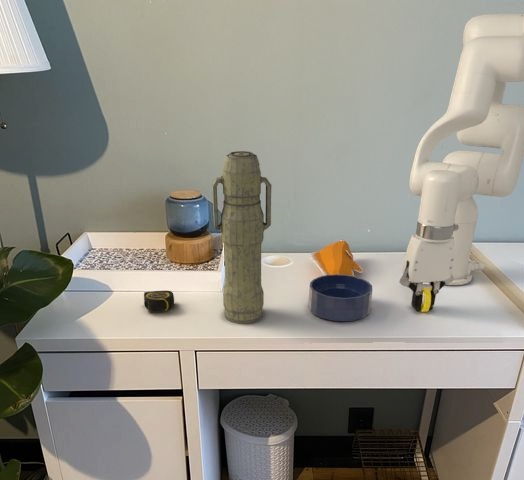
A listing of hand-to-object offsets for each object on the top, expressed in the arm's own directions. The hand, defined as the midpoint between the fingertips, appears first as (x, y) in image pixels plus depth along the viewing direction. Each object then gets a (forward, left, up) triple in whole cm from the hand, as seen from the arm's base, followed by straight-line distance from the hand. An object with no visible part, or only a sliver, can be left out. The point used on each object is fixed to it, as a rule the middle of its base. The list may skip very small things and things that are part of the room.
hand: (422, 307), depth 128 cm
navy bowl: (+19, -3, 0) cm, 19 cm away
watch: (0, 0, -1) cm, 1 cm away
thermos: (+41, -4, -1) cm, 41 cm away
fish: (+14, -22, -1) cm, 26 cm away
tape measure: (+60, -11, -1) cm, 61 cm away
